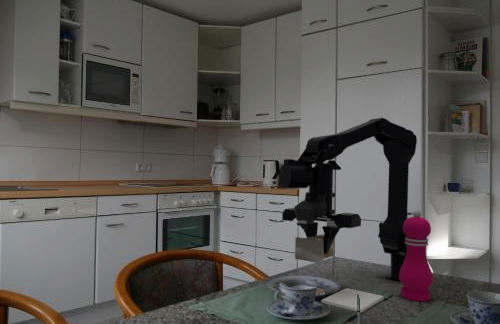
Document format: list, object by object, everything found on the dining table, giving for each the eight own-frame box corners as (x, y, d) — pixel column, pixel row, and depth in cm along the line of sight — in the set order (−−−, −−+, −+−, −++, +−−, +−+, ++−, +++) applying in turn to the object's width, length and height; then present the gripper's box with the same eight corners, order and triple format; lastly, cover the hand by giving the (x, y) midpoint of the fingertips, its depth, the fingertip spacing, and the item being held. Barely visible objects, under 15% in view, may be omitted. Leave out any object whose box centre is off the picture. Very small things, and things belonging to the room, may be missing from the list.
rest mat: (346, 290, 98) (346, 288, 98) (383, 298, 93) (383, 296, 93) (321, 302, 89) (321, 299, 89) (360, 312, 83) (361, 309, 83)
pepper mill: (417, 304, 90) (419, 212, 90) (391, 294, 96) (393, 208, 96) (439, 299, 93) (441, 211, 93) (413, 290, 99) (415, 208, 100)
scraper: (315, 252, 105) (316, 233, 105) (341, 256, 100) (341, 236, 100) (294, 258, 97) (295, 237, 97) (321, 263, 93) (321, 241, 93)
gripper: (269, 187, 99) (268, 252, 99) (340, 191, 87) (339, 265, 87) (295, 186, 108) (293, 246, 107) (362, 190, 96) (361, 257, 96)
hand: (319, 253), depth 99 cm, fingers closed on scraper, 3 cm apart
